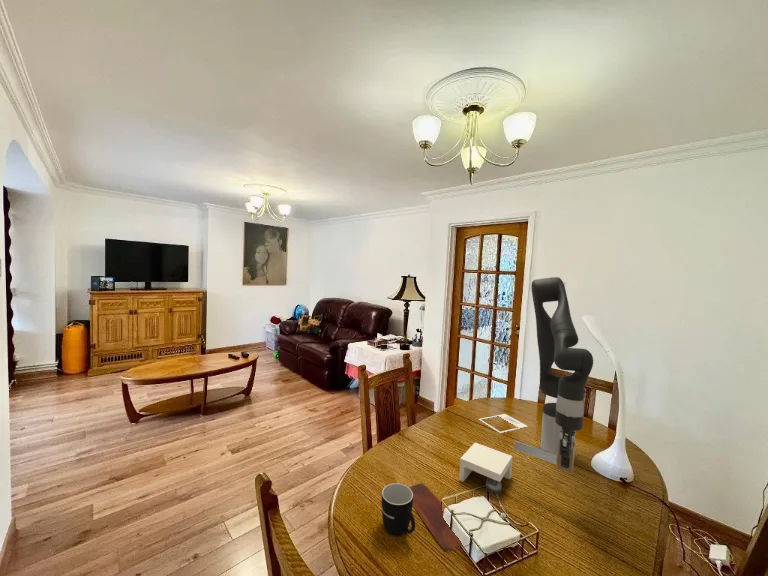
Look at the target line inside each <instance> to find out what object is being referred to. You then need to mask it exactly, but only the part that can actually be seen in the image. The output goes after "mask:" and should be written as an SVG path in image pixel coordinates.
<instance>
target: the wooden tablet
mask: <svg viewBox="0 0 768 576" xmlns="http://www.w3.org/2000/svg"><path fill="white" fill-rule="evenodd" d="M408 487H409V488H410V489H411V491H412V493H413V505H412V508H413V509H414V510H415V512H416V513H417V514H418V515H419V517H420V519H421V520H422V521H423V523H424V524H425V526H426V528H427V529H428V530H429V532H430V533H431V535H432V536H433V538H434V539H435V541H436V543H438V545H439V546H440V547H441V548H442V550H443V551H444V552H446V553H449V552H451V551H453V550H454V549H455V547H456V546H458V547H464V546H463V545H462V543H461V541H460V540H459V538H458V537H457V536H456V535H455V533H454V532H453V531H452V530H451V529H450V527H449V525H448V524H447V523H446V521H445V520H444V518H443V514H442V513H443V511H442V510H441V502H442V501H441V500H440V499H439V498H438V497H437V496H436V495H435V494H434V492H432V490H431V489H429V488H428V487H427V486H426V485H425V484H424V483H421V482H420V483H417V484H413V485H412V486H408Z"/></svg>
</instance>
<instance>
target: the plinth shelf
mask: <svg viewBox="0 0 768 576" xmlns="http://www.w3.org/2000/svg"><path fill="white" fill-rule="evenodd" d="M459 459H460V460H459V474H458V475H459V478H458V480H459V481H461V482H465V480H466V479H467V478H468V477H469V475H470V474H471V473H472V472H475V473H477V474H480V475H482V476H484V477H487V478H492V479H494V480H496V481H499V482H501V481H502V480H503V478H505V479H508V480H511V479H512V471H513V470H512V468H513V456H512V455H511V454H508V453H505V452H502V451H499V450H496V449H494V448H491V447H488V446H486V445H484V444H479V443H477V442H474V443H473V444H472V445H471V446H470V447H469V448H468V450H466V451H465V452H464V453H463V455H461V457H460V458H459Z"/></svg>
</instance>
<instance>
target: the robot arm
mask: <svg viewBox="0 0 768 576" xmlns="http://www.w3.org/2000/svg"><path fill="white" fill-rule="evenodd" d="M530 289H531V295H532V302H533V307H534V308H533V309H534V314H535V327H536V339H537V346H538V359H539V387H540V391H541V393H542V394H543V395H545V396H548V397H552V398H555V399H556V401H555V402H547V403H544V404H543V407H542V421H541V432H540V433H541V436H540V438H541V439H540V449H543V450H545V451H548V452H551V453H554V454H557V461H558V449H559V442H560V455H561V466H562V467H565V468H569V461H570V456H571V455H570V452H571V450H572V449H573V443H574V442H575V441H576V440H575V439H576V437H577V436H576V435H577V432H576V431H582V429H583V426H584V414H585V402H584V399H585V387H586V384H587V382H588V379H589V376H590V373H591V371H592V369H593V367H594V356H593V354H592V352H590V351H589V350H588V349H586V348H578V347H577V348H576V347H575V346H576V345H577V344H578V343H579V337H578V333H577V330H576V327H575V325H574V323H573V319H572V316H571V311H570V306H569V300H568V295H567V290H566V287H565V283H564V281H563V279H562V278H560V277H558V276H554V277H545V278H538V279H534V280H532V282H531V288H530ZM552 302H557V307H556V310H555V311H554V313H553V314H552V317H551V316H550V315H549V313H548V312H547V311H546V309H545V307H544V303H552ZM554 364H555V366H556V367H557V368H558V369H560V370H562V371H573V373H572V374H570V375H565V376H564V375H563V376H562V375H558V374H553V373H552V366H553V365H554ZM575 443H576V442H575ZM570 445H571V446H570ZM565 451H566V452H565Z"/></svg>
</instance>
